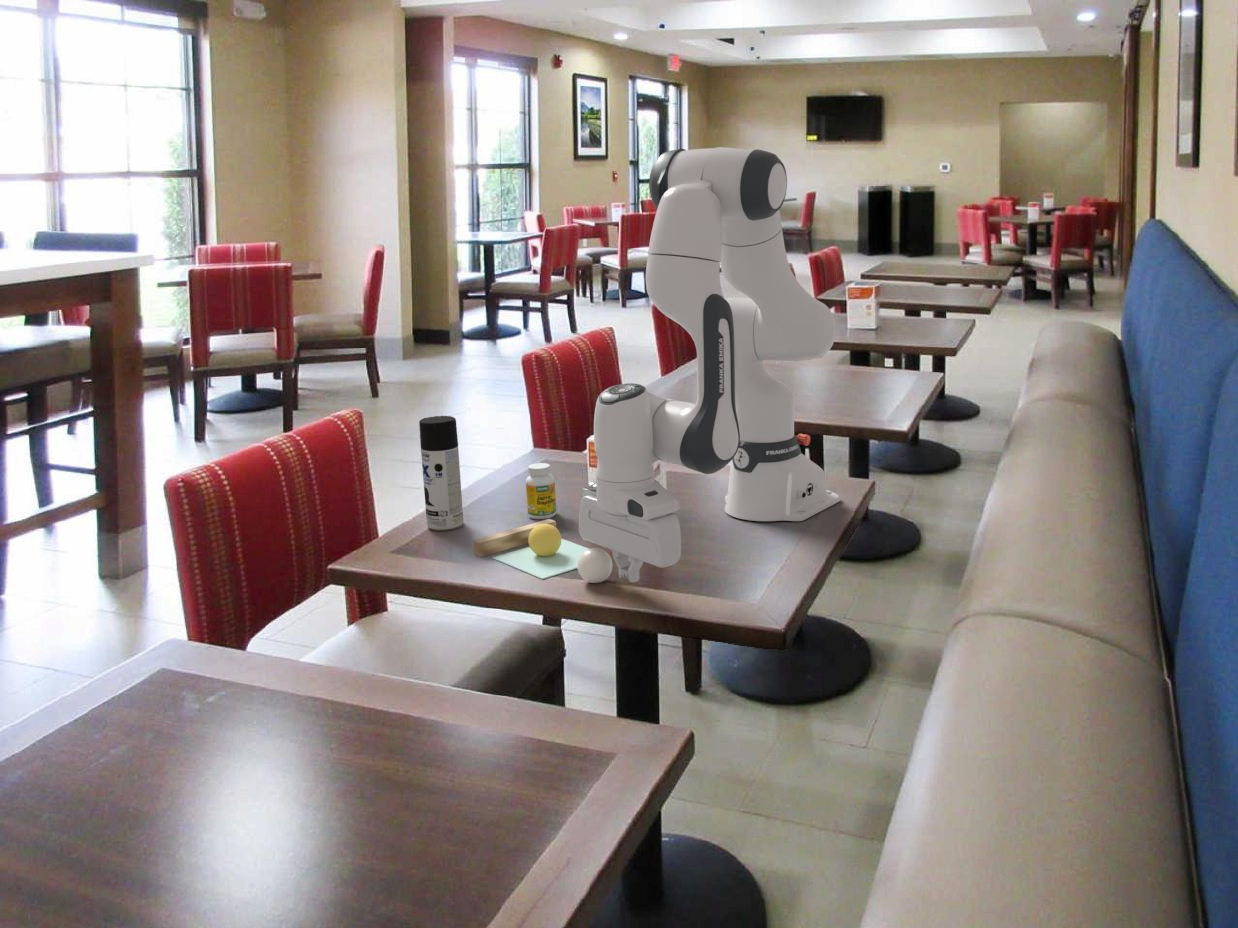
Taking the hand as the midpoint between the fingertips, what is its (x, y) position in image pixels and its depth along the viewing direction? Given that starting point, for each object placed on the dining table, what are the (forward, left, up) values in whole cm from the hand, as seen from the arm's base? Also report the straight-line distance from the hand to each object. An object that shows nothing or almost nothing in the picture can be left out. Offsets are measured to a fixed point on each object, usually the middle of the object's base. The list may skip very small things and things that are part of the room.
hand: (629, 579), depth 179 cm
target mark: (0, -20, -2) cm, 20 cm away
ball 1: (0, -22, +1) cm, 22 cm away
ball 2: (+2, -6, +1) cm, 7 cm away
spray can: (+3, -48, -2) cm, 48 cm away
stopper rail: (0, -30, -2) cm, 30 cm away
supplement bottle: (-13, -40, -2) cm, 42 cm away
